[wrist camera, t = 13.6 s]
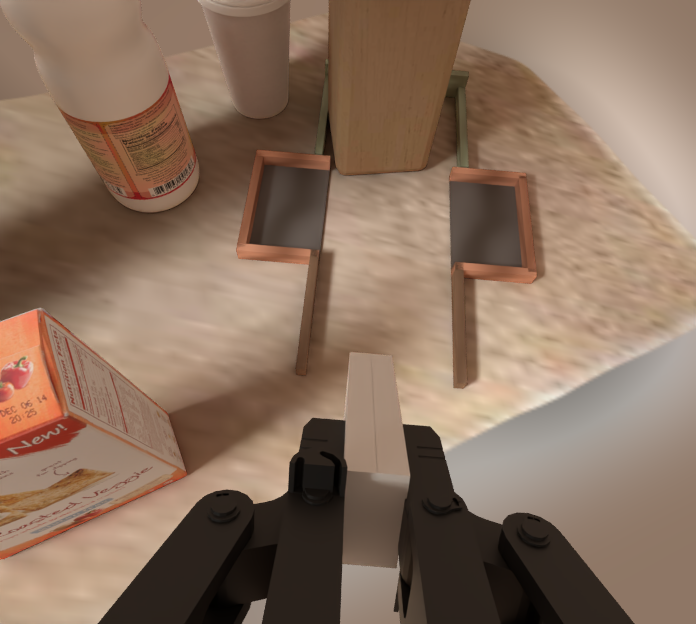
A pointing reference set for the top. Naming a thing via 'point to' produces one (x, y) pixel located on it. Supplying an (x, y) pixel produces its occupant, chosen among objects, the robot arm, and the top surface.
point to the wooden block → (389, 80)
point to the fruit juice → (113, 95)
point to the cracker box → (71, 434)
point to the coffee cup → (252, 52)
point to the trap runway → (465, 221)
